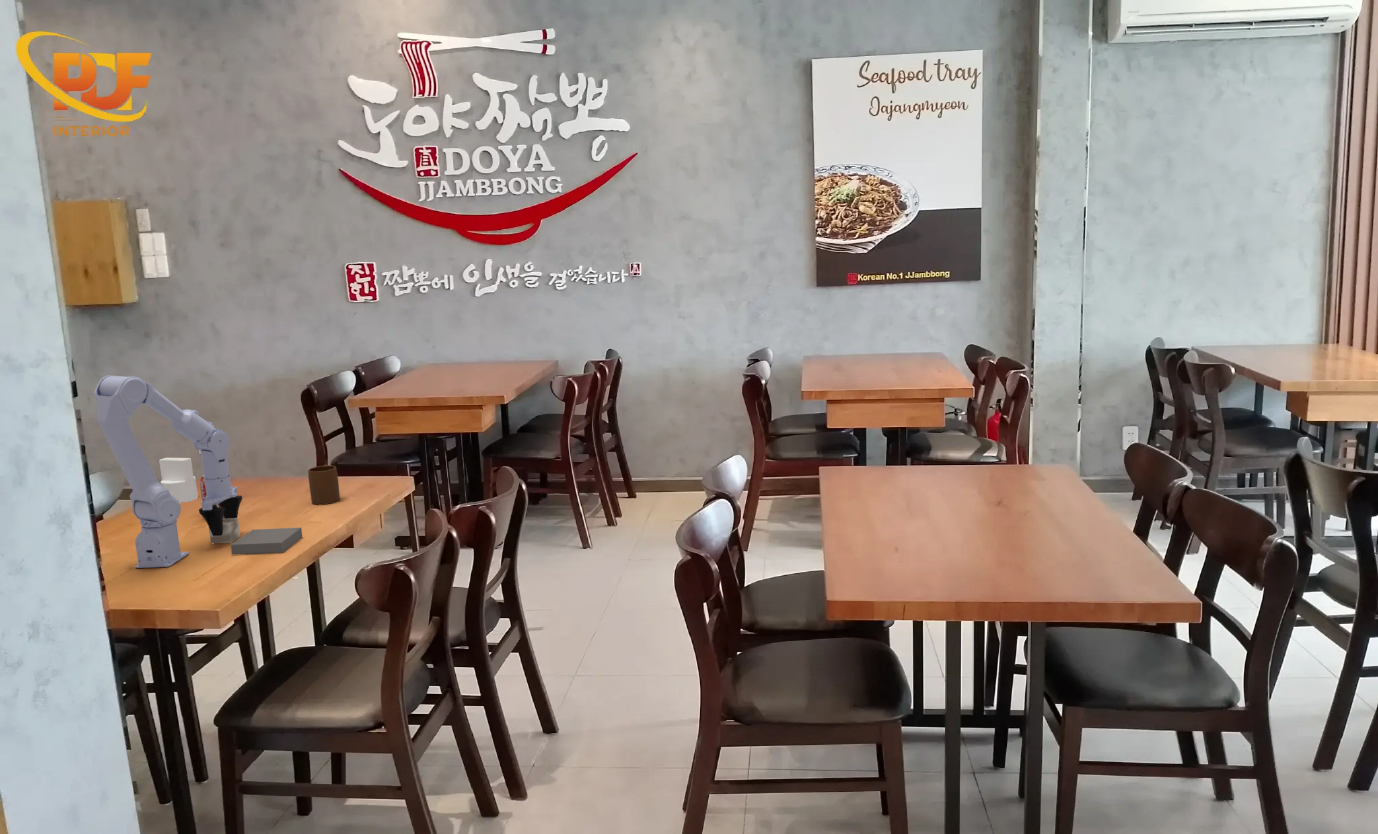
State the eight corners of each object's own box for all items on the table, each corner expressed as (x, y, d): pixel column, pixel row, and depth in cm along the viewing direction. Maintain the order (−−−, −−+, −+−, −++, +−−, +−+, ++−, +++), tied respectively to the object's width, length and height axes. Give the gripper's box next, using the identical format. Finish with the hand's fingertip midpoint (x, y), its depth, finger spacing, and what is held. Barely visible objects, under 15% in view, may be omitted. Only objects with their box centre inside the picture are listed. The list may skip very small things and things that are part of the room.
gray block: (231, 543, 250) (228, 523, 249) (211, 544, 250) (208, 524, 249) (240, 537, 255) (237, 518, 254) (220, 538, 255) (217, 518, 254)
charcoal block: (283, 554, 240) (281, 542, 240) (232, 557, 241) (230, 544, 240) (302, 539, 252) (301, 527, 252) (254, 541, 253) (252, 529, 252)
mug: (316, 495, 293) (312, 463, 291) (344, 492, 294) (340, 460, 292) (309, 506, 281) (305, 472, 279) (338, 503, 283) (334, 470, 281)
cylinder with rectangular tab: (156, 503, 293) (150, 462, 291) (180, 495, 301) (174, 455, 299) (181, 504, 290) (175, 463, 288) (205, 496, 299) (199, 455, 296)
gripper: (219, 483, 242) (227, 538, 245) (246, 468, 257) (253, 521, 259) (190, 485, 243) (198, 540, 245) (218, 470, 257) (226, 522, 259)
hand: (224, 530), depth 252 cm, fingers open, 7 cm apart
